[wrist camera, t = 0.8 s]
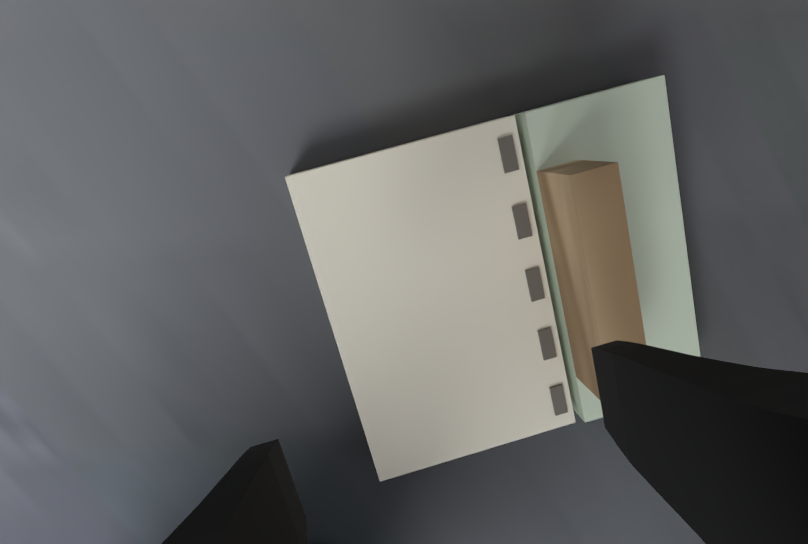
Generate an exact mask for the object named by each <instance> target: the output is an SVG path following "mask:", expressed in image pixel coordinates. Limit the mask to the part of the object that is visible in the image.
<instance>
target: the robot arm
mask: <svg viewBox="0 0 808 544" xmlns="http://www.w3.org/2000/svg"><path fill="white" fill-rule="evenodd" d="M591 351H592V357H593V362H594V368H595V373H596V379H597V385H598V390H599V396H600V401H601V407H602V413H603V418H604V424H605V428H606V429H607V431H608V432H609V434H610V435H611V437H612V438H613V439H614V441H615V442H616V444H617V445H618V447H619V448H620V450H621V451H622V452H623V454H624V455H625V456H626V458H627V459H628V460H629V462H630V463H631V464H632V465H633V466H634V467H635V469H636V470H637V471H638V472H639V473H640V474H641V475H642V476H643V477H644V478H645V479H646V480H647V481H648V483H649V484H650V485H651V486H652V487H653V488H654V489H655V490H656V491H657V492H658V493H659V494H660V495H661V496H662V497H663V499H664V500H665V501H666V502H667V503H668V504H669V505H670V506H671V507H672V508H673V509H674V510H675V511H676V512H677V513H678V514H679V515H680V516H681V518H682V519H683V520H684V521H685V522H686V523H687V524H688V525H689V526H690V527H691V528H692V529H693V530H694V531H695V532H696V533H697V534H698V535H699V537H700V538H701V539H702V540H703V541H704V542H705V543H706V544H808V373H803V372H794V371H784V370H774V369H767V368H759V367H752V366H747V365H741V364H735V363H729V362H723V361H718V360H713V359H708V358H703V357H698V356H693V355H689V354H684V353H680V352H675V351H671V350H666V349H662V348H657V347H653V346H648V345H644V344H639V343H634V342H628V341H619V340H616V341H613V342H609V343H606V344H602V345H599V346H595V347H592V348H591ZM162 544H307V537H306V516H305V514H304V511H303V508H302V505H301V502H300V499H299V497H298V494H297V491H296V488H295V485H294V482H293V480H292V477H291V474H290V471H289V468H288V465H287V463H286V460H285V457H284V454H283V451H282V448H281V446H280V443H279V440H278V439H277V440H273V441H270V442H267V443H263V444H260V445H256V446H253V447H250V448H249V449H248V450H247V451H246V452H245V453H244V454H243V455H242V456H241V457H240V459H239V460H238V461H237V462H236V463H235V464H234V465H233V466H232V468H231V469H230V470H229V471H228V472H227V473H226V475H225V476H224V477H223V478H222V479H221V480H220V481H219V483H218V484H217V485H216V486H215V487H214V488H213V489H212V491H211V492H210V493H209V494H208V495H207V496H206V497H205V499H204V500H203V501H202V502H201V503H200V504H199V505H198V506H197V507H196V508H195V509H194V510H193V512H192V513H191V514H190V515H189V516H188V517H187V518H186V519H185V520H184V521H183V522H182V523H181V524H180V525H179V526H178V527H177V528H176V529H175V530H174V531H173V533H172V534H171V535H170V536H169V537H168V538H167V539H166V540H165V541H164V542H163V543H162Z"/></svg>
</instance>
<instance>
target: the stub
mask: <svg viewBox="0 0 808 544" xmlns="http://www.w3.org/2000/svg"><path fill="white" fill-rule="evenodd" d="M513 115H515V119H516V124H517V129H518V134H519V140H520V145H521V150H522V155H523V160H524V165H525V170H526V175H527V180H528V185H529V190H530V195H531V200H532V205H533V210H534V215H535V220H536V225H537V230H538V235H539V240H540V245H541V250H542V255H543V260H544V265H545V271H546V276H547V281H548V286H549V291H550V296H551V301H552V306H553V311H554V316H555V321H556V326H557V331H558V336H559V341H560V346H561V351H562V356H563V361H564V366H565V371H566V376H567V381H568V386H569V391H570V397H571V402H572V407H573V410H574V411H575V412H576V413H577V414H578V415H579V416H580V418H581V419H582V420H583V421H584V422H585V423H586V422H589V421H592V420H595V419H599V418H602V417H603V413H602V407H601V401H600V396H599V390H598V385H597V379H596V373H595V368H594V362H593V357H592V351H591V348H592V347H595V346H599V345H602V344H606V343H609V342H613V341H616V340H619V341H628V342H634V343H639V344H644V345H648V346H653V347H657V348H662V349H666V350H671V351H675V352H680V353H684V354H689V355H693V356H698V357H700V349H699V341H698V333H697V326H696V318H695V310H694V302H693V294H692V286H691V279H690V271H689V263H688V255H687V247H686V239H685V232H684V224H683V216H682V208H681V200H680V193H679V185H678V177H677V169H676V161H675V153H674V146H673V138H672V130H671V122H670V114H669V106H668V99H667V91H666V83H665V75H662V76H657V77H653V78H648V79H644V80H639V81H636V82H632V83H628V84H625V85H621V86H617V87H613V88H610V89H606V90H602V91H599V92H595V93H591V94H587V95H584V96H580V97H576V98H573V99H569V100H565V101H562V102H558V103H554V104H550V105H547V106H543V107H539V108H536V109H532V110H528V111H524V112H521V113H517V114H513ZM513 115H511V116H513Z"/></svg>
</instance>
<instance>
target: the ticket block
mask: <svg viewBox="0 0 808 544" xmlns="http://www.w3.org/2000/svg"><path fill="white" fill-rule="evenodd" d="M285 179H286V183H287V186H288V189H289V192H290V195H291V199H292V202H293V205H294V208H295V211H296V215H297V218H298V221H299V224H300V227H301V231H302V234H303V237H304V240H305V243H306V247H307V250H308V253H309V256H310V259H311V263H312V266H313V269H314V272H315V275H316V279H317V282H318V285H319V288H320V291H321V295H322V298H323V301H324V304H325V307H326V311H327V314H328V317H329V320H330V323H331V327H332V330H333V333H334V336H335V340H336V343H337V346H338V349H339V352H340V356H341V359H342V362H343V365H344V368H345V372H346V375H347V378H348V381H349V384H350V388H351V391H352V394H353V397H354V400H355V404H356V407H357V410H358V413H359V416H360V420H361V423H362V426H363V429H364V432H365V436H366V439H367V442H368V445H369V448H370V452H371V455H372V458H373V461H374V464H375V468H376V471H377V474H378V477H379V480H380V482H381V481H384V480H387V479H391V478H394V477H397V476H401V475H404V474H407V473H411V472H414V471H417V470H420V469H424V468H427V467H430V466H434V465H437V464H440V463H443V462H447V461H450V460H453V459H457V458H460V457H463V456H466V455H470V454H473V453H476V452H480V451H483V450H486V449H489V448H493V447H496V446H499V445H503V444H506V443H509V442H513V441H516V440H519V439H522V438H526V437H529V436H532V435H536V434H539V433H542V432H545V431H549V430H552V429H555V428H559V427H562V426H565V425H568V424H572V423H575V417H574V412H573V407H572V402H571V397H570V391H569V386H568V381H567V376H566V371H565V366H564V361H563V356H562V351H561V346H560V341H559V336H558V331H557V326H556V321H555V316H554V311H553V306H552V301H551V296H550V291H549V286H548V281H547V276H546V271H545V265H544V260H543V255H542V250H541V245H540V240H539V235H538V230H537V225H536V220H535V215H534V210H533V205H532V200H531V195H530V190H529V185H528V180H527V175H526V170H525V165H524V160H523V155H522V150H521V145H520V140H519V134H518V129H517V124H516V119H515V115H513V116H507V117H502V118H498V119H494V120H491V121H487V122H483V123H479V124H476V125H472V126H468V127H465V128H461V129H457V130H453V131H450V132H446V133H442V134H439V135H435V136H431V137H427V138H424V139H420V140H416V141H413V142H409V143H405V144H402V145H398V146H394V147H390V148H387V149H383V150H379V151H376V152H372V153H368V154H364V155H361V156H357V157H353V158H350V159H346V160H342V161H338V162H335V163H331V164H327V165H324V166H320V167H316V168H313V169H309V170H305V171H301V172H298V173H294V174H290V175H288V176H286V177H285Z"/></svg>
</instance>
